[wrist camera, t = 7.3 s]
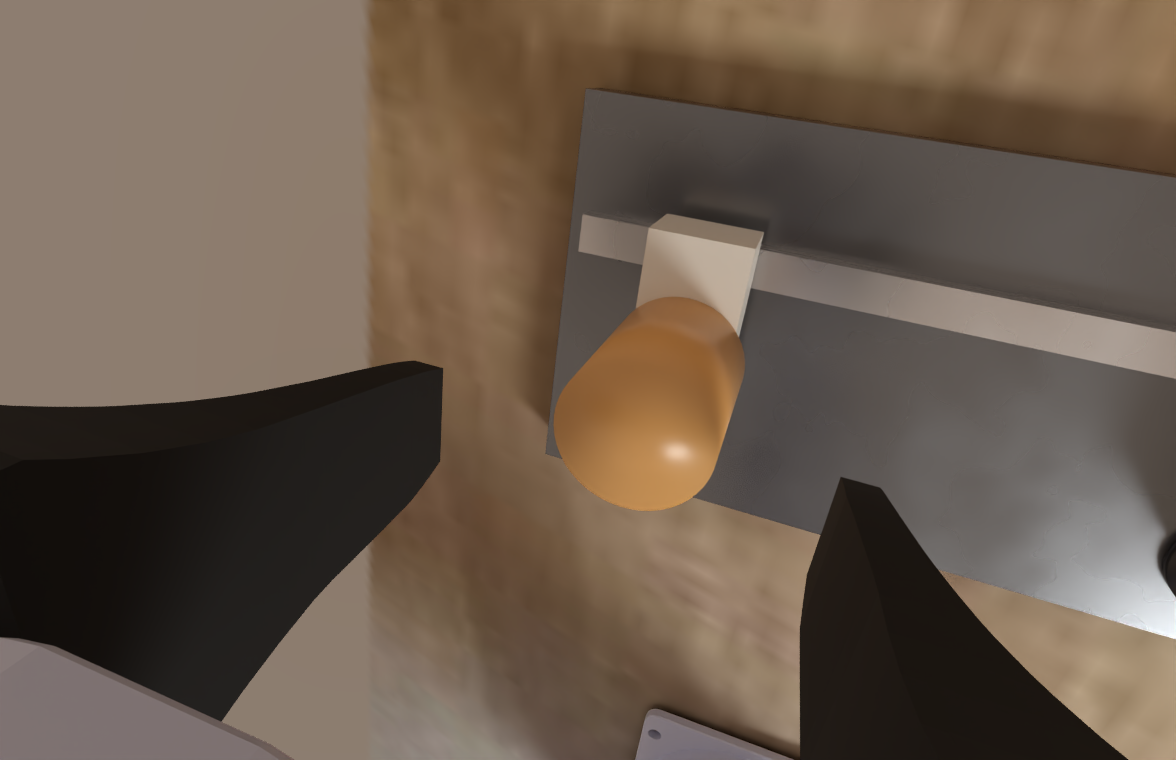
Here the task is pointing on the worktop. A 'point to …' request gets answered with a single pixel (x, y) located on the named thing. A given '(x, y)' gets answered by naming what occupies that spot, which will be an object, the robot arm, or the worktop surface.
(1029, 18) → the worktop surface
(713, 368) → the block with orange knob
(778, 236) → the hole plate
